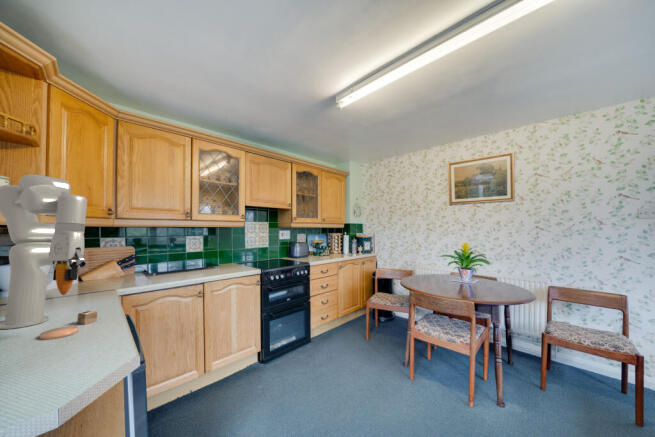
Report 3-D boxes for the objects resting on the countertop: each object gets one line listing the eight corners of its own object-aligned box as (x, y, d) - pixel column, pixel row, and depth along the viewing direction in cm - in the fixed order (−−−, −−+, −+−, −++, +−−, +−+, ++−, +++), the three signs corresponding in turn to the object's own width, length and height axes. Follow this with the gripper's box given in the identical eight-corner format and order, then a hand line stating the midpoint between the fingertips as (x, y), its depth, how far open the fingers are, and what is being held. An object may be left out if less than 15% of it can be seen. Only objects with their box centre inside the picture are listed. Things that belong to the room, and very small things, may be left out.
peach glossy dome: (32, 338, 81) (32, 334, 81) (66, 328, 90) (67, 325, 90) (51, 340, 79) (51, 337, 79) (84, 330, 88) (84, 327, 88)
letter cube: (77, 324, 95) (78, 312, 95) (89, 320, 99) (90, 309, 99) (84, 325, 94) (85, 313, 94) (96, 321, 98) (97, 310, 98)
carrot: (59, 297, 83) (64, 252, 84) (49, 296, 84) (53, 252, 85) (77, 294, 88) (81, 252, 89) (66, 293, 88) (70, 252, 90)
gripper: (39, 228, 86) (33, 280, 84) (73, 228, 82) (68, 283, 80) (66, 229, 93) (61, 277, 92) (99, 229, 89) (95, 279, 88)
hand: (65, 279), depth 86 cm, fingers closed on carrot, 5 cm apart
